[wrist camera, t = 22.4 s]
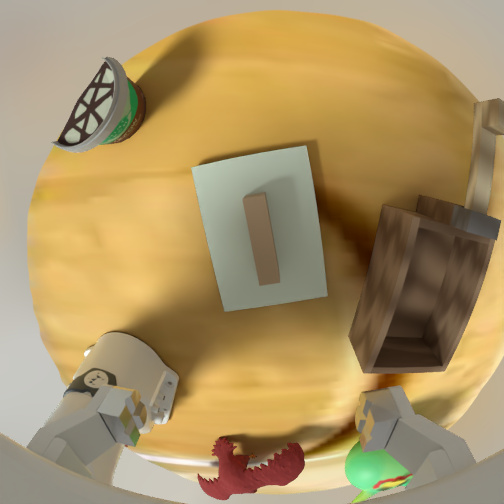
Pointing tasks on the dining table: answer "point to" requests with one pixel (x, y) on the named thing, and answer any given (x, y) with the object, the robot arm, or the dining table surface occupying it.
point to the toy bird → (374, 472)
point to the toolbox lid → (262, 228)
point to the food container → (104, 111)
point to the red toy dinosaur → (251, 471)
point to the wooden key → (484, 152)
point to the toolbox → (421, 286)
